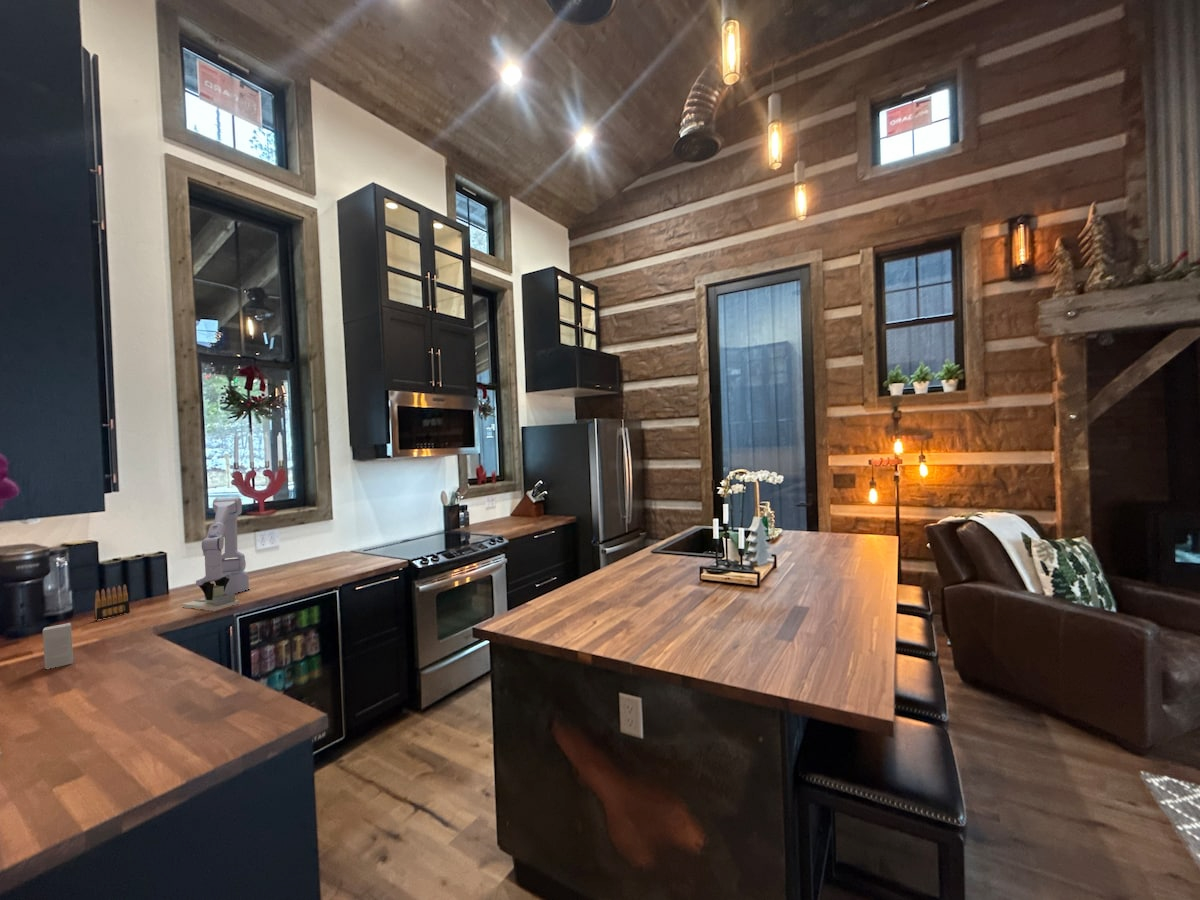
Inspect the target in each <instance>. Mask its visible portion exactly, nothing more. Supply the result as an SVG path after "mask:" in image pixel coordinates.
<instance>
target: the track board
mask: <svg viewBox="0 0 1200 900" xmlns="http://www.w3.org/2000/svg"><path fill="white" fill-rule="evenodd" d="M235 604H237V605H239V604H240V600H238V599H235V602H231V603H228V604H224V605H221V606H214V603H207V602H205V598H204V597H202V598H198V599H194V600H193V601H192V600H191V601H188V602H184V603H182V608H183V607H184V609H191V608H195V609H194V610H200V609H204V610H203V611H208V610H209V611H210V612H211V611H212V612H216V611H220V610H223V609H226V608H229V607H233V606H232V605H234V606H236V605H235Z"/></svg>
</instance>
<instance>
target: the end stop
mask: <svg viewBox="0 0 1200 900" xmlns="http://www.w3.org/2000/svg"><path fill="white" fill-rule="evenodd" d="M235 600H236V594H235V593H228V594H224V595H220V596H217V597H213V601H214V606H221V605H224V604H228V603H231V602H235Z"/></svg>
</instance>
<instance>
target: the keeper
mask: <svg viewBox="0 0 1200 900" xmlns="http://www.w3.org/2000/svg"><path fill="white" fill-rule="evenodd" d="M203 595H204V597H203V598H205V602H207V603H214V601H213V598H212V600H206V597H205V594H204V593H203ZM220 595H224V586H216V584H214V587H213V597H217V596H220Z"/></svg>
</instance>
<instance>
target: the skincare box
mask: <svg viewBox="0 0 1200 900" xmlns="http://www.w3.org/2000/svg"><path fill="white" fill-rule="evenodd" d="M42 642H43V643H42V644H43V658H44V670H45V669H47V670H51V669H55V667H56V668H59V667H63V666H64V667H65V666H67V665H73V664H74V650H73V635H72V623H71V622H67V623H63V624H58V625H52V626H51V625H50V626H46V627H44V628H43V629H42ZM50 668H51V669H50Z"/></svg>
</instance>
